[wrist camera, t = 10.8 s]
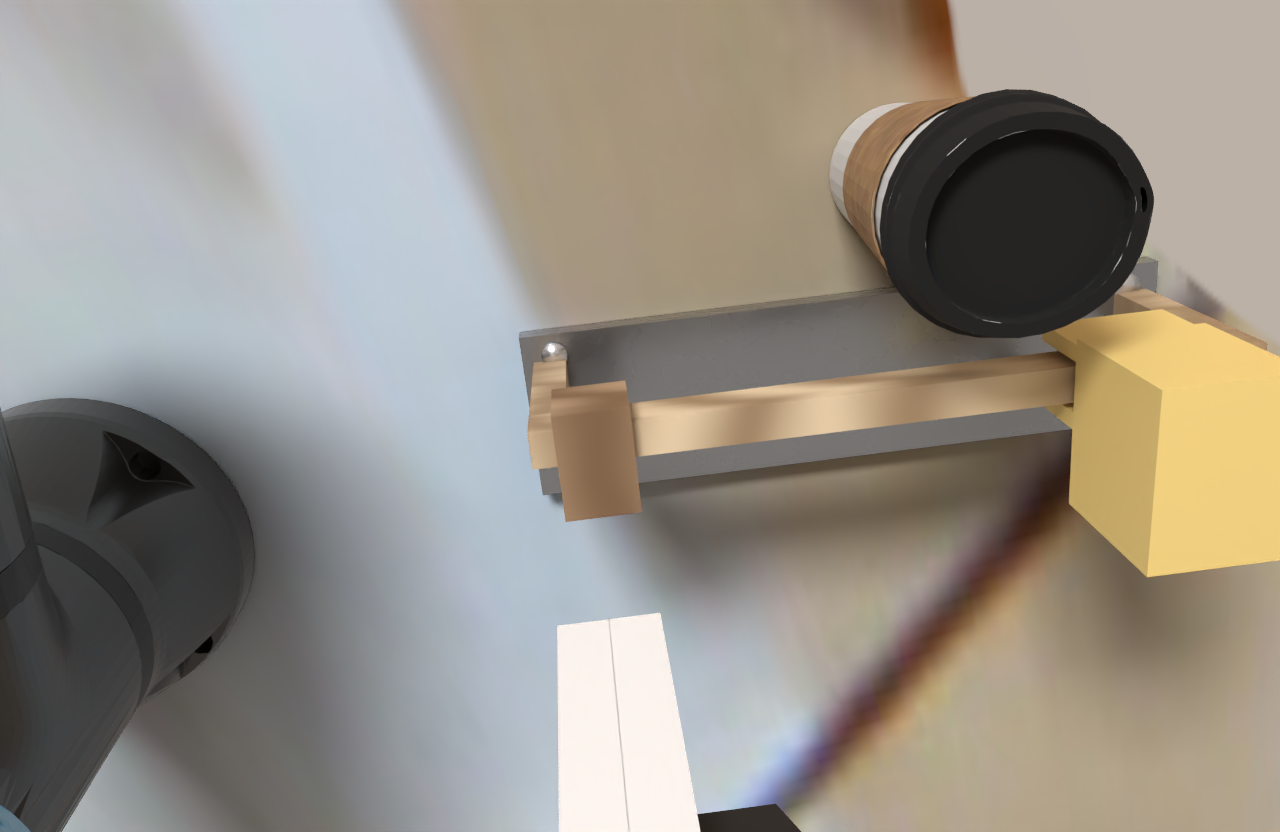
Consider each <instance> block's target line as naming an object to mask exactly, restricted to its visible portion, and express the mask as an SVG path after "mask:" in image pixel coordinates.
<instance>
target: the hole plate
mask: <svg viewBox="0 0 1280 832" xmlns="http://www.w3.org/2000/svg"><path fill="white" fill-rule="evenodd" d="M1157 269H1158V261H1156V260H1154V259H1151V258H1149V257H1141V258H1139V259H1138V261H1137V263H1136V266H1135V268H1134V270H1133V271H1132V272H1131V274H1130V275H1129V277H1128V278H1127V280H1126V281H1125V283H1124V284H1123V285H1122V287H1121V288H1120V289H1119V290H1118V291H1117V292H1116V293H1115V294H1116V295H1117V293H1123V292H1131V291H1139V289H1148V290H1150V291H1152V292H1155V293H1156V282H1157ZM1113 309H1114V294H1113V295H1112V296H1111V297H1110V298H1109V299H1108V300H1107V301H1106V302H1105V303H1104V304H1102V305H1101V306H1099V307H1098V308H1097V309H1095V310H1094V311H1092V312H1091V313H1089V314H1088V315H1087V316H1085V317H1083V318H1081V319H1085V318H1093V317H1102V316H1110V315H1113ZM519 341H520V348H521V354H522V361H523V368H524V374H525V381H526V387H527V394H528V400H529V407H530V399H531V387H532V376H533V365H534V363H535V362H543V363H545V362H554V361H562V360H566V364H567V371H568V378H569V385H570V387H575V386H583V385H592V384H600V383H608V382H616V381H624V380H625V383H626V388H627V394H628V400H629V403H637V402H645V401H653V400H661V399H669V398H678V397H686V396H694V395H702V394H710V393H718V392H727V391H735V390H743V389H751V388H759V387H767V386H776V385H784V384H792V383H800V382H808V381H816V380H825V379H833V378H841V377H849V376H857V375H865V374H873V373H882V372H890V371H898V370H906V369H914V368H922V367H931V366H939V365H947V364H955V363H963V362H971V361H980V360H988V359H996V358H1004V357H1012V356H1020V355H1029V354H1037V353H1045V352H1053V351H1058V350H1057V349H1055V348H1053V347H1052V346H1050V345H1049V344H1047V343H1046V342H1044V341H1043V340H1042V334H1040V335H1035V336H1029V337H1023V338H977V337H971V336H966V335H961V334H956V333H954V332H951V331H949V330H946V329H944V328H941V327H939V326H937V325H935V324H934V323H932V322H930V321H928V320H927V319H926V318H924V317H923V316H922V315H920V314H919V313H918V312H916V311H915V310H913V308H912V307H911V306H910V305H909V304H908V303H907V302H906V300H905V299H904V298H903V297H902V296H901V295H900V294H899V292H898V290H897V289H896V287H891V288H883V289H875V290H866V291H858V292H850V293H841V294H833V295H825V296H816V297H808V298H800V299H791V300H783V301H775V302H767V303H758V304H750V305H742V306H733V307H725V308H717V309H708V310H700V311H692V312H683V313H675V314H667V315H658V316H650V317H642V318H633V319H625V320H617V321H609V322H600V323H592V324H584V325H575V326H567V327H559V328H550V329H542V330H534V331H525V332H520V335H519ZM1069 429H1071V428H1070V427H1069V426H1068V425H1066V424H1065V423H1064V422H1062V421H1061V420H1060V419H1059V418H1057V417H1056V416H1055V415H1054V414H1052V413H1051V412H1050V411H1049V410H1047V409H1046V408H1045V407H1035V408H1027V409H1019V410H1011V411H1003V412H995V413H987V414H979V415H971V416H963V417H955V418H947V419H939V420H930V421H922V422H914V423H906V424H898V425H890V426H882V427H874V428H866V429H858V430H850V431H842V432H834V433H826V434H818V435H809V436H801V437H793V438H785V439H777V440H769V441H761V442H753V443H745V444H737V445H729V446H721V447H713V448H705V449H697V450H689V451H680V452H672V453H664V454H656V455H648V456H640V457H636V465H637V473H638V482H639V483H644V482H652V481H660V480H668V479H676V478H684V477H692V476H700V475H708V474H716V473H724V472H732V471H740V470H748V469H756V468H764V467H772V466H780V465H788V464H796V463H804V462H812V461H820V460H828V459H836V458H844V457H852V456H860V455H868V454H876V453H884V452H892V451H900V450H908V449H916V448H924V447H933V446H941V445H949V444H957V443H965V442H973V441H981V440H989V439H997V438H1005V437H1013V436H1021V435H1029V434H1037V433H1045V432H1053V431H1061V430H1069ZM539 472H540V479H541V485H542V492H543V495H548V494H556V493H562V492H561V486H560V479H559V472H558V467H551V468H543V469H539Z"/></svg>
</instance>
